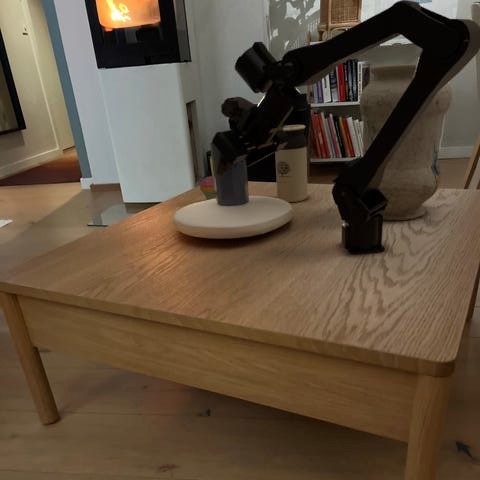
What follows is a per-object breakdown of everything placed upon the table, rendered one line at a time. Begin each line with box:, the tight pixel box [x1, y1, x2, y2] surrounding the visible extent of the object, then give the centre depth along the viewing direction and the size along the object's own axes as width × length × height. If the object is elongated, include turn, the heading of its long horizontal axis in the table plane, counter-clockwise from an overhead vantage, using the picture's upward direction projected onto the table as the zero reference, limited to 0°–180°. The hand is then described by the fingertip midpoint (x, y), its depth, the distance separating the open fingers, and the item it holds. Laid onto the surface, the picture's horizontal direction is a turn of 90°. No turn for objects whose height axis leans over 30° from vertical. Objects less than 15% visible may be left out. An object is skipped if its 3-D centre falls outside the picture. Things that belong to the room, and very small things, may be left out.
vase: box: [358, 63, 453, 221], centre depth 101 cm, size 18×18×30 cm
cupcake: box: [199, 155, 216, 200], centre depth 128 cm, size 9×8×12 cm
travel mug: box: [274, 124, 308, 203], centre depth 122 cm, size 8×8×18 cm
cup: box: [209, 136, 250, 206], centre depth 102 cm, size 7×7×13 cm
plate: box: [172, 195, 294, 239], centre depth 106 cm, size 28×6×27 cm
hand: (232, 169), depth 101 cm, fingers open, 9 cm apart
